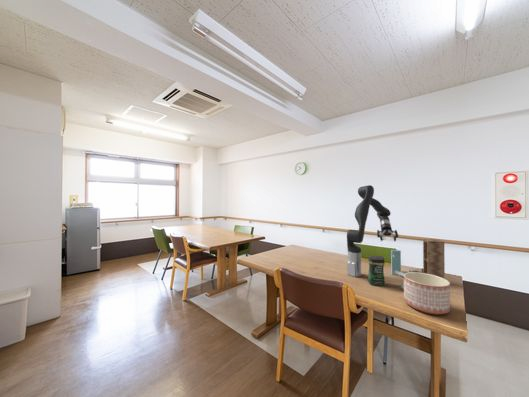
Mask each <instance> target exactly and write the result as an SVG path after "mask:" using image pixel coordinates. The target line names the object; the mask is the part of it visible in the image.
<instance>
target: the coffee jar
mask: <svg viewBox="0 0 529 397" xmlns="http://www.w3.org/2000/svg"><path fill="white" fill-rule="evenodd" d="M367 262H368V264H369V265H368V276H367V282H368V283H369V285H372V286H381V287H383V286H385V282H386V281H385V272H384V266H385V257H384V256H381V255H369V256H368V260H367Z"/></svg>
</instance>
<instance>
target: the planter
mask: <svg viewBox="0 0 529 397" xmlns="http://www.w3.org/2000/svg"><path fill="white" fill-rule="evenodd" d="M408 272H409V271H408ZM403 283H404V289H403V300H404V302H405V303H406V304H408V305H409V306H410V307H411V308H413V309H414V310H416V311H419V312H422V313H424V314H429V315H434V316H436V315H437V316H438V315H444V314H445V315H446V314H448V313H450V311H451V283H450V281H449V280H448V279H446V278H445V279H444V278H441V277H438V276H435V275H431V274H426V273H418V272H409V273H405V274H404V278H403Z"/></svg>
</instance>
